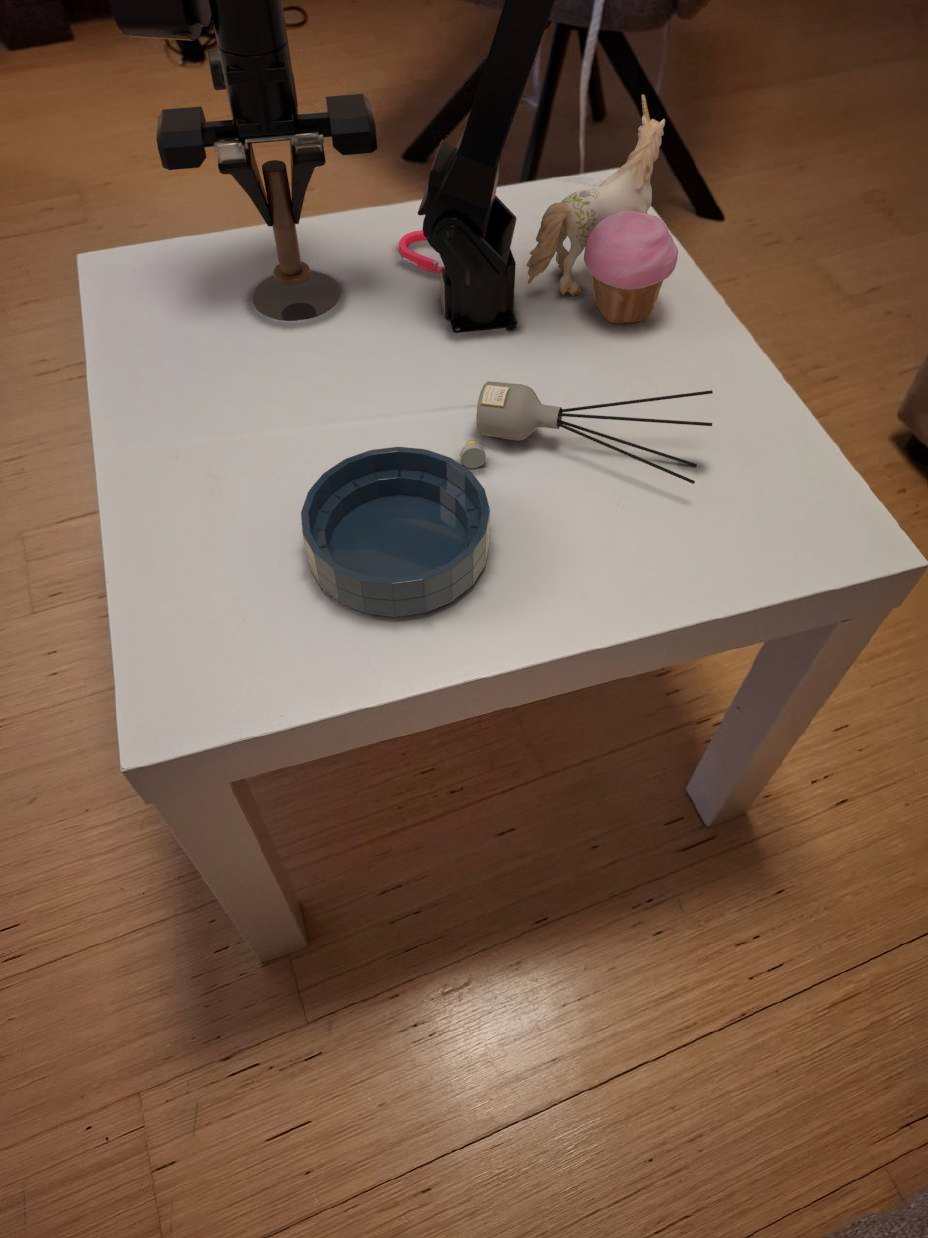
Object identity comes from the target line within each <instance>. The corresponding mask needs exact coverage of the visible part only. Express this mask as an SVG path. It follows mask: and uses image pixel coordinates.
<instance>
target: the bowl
mask: <svg viewBox="0 0 928 1238" xmlns="http://www.w3.org/2000/svg"><path fill="white" fill-rule="evenodd" d="M306 494H307V495H306V497H305V500H304V502H303V505H302V508H301V511H300V519H301V520H300V521H301V531H302V537H303V540H304V542H303V543H304V546H305V551H306V557H307V561H308V565H309V568H310V570H311V572H312V574H313V576H314V578H315V579H316V581H317V583H318V584H319V586H320V588H321V589H323V590H324V591H325V592H326V593H327V594H328V595H330V596H331V597H332V598H333V599H335V600H336V601H337V602H338V603H340V604H341V605H344V606H346V607H349V608H352V609H354V610H356V611H358V612H361V613H364V614H366V615H373V616H384V617H393V618H395V617H396V618H397V617H398V618H399V617H406V616H413V615H420V614H421V615H422V614H426V613H429V612H431V611H434V610H436V609H438V608H441V607H443V606H446V605H448V604H450V603H453V601H455V600H456V599H457V598H459V597H460V596H461V595H462V594H463V593H465V592H466V591H467V590H469V589H470V588H471V587H472V586H473V585H474V584H475V583H476V581H477V580H478V579H479V576H480V575H481V573H482V572H483V570H484V568H485V567H486V564H487V559H488V552H489V546H490V532H491V531H490V525H491V520H490V519H491V509H490V505H489V501H488V496H487V492H486V490H485V488H484V486H483V485H482V483H481V482H480V481H479V480H478V478H477V477H476V476H475V475H474V473H473V471H471V470H469V468H468V467H466V466H464V465H463V464H462V463H459V462H458V461H456V460H455V459H453V458H452V457H450V456H448V455H444V454H441V453H438V452H435V451H432V450H429V449H425V448H419V447H417V448H416V447H407V446H406V447H405V446H392V447H383V448H376V449H369V450H366V451H364V452H361V453H358V454H355V455H352V456H349V457H347V458H344V459H342V460H341V461H339V462H338V463H337V464H335V465H333V466H332V467H330V468H329V469H327V470H326V471H324V472H323V473H322V474H321V475H320V477H319V478H318V479H317V480H316V481H315V483H313V485H312V486H311V487H310V488H309V490H308V492H307V493H306Z"/></svg>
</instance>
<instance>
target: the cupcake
mask: <svg viewBox="0 0 928 1238" xmlns="http://www.w3.org/2000/svg"><path fill="white" fill-rule="evenodd" d="M583 251H584V253H583V261H584V264H585V266H586V268H587V270H588V273H589V274H590V275H591V278H592V279H591V280H592V286H593V287H592V288H593V294H594V303H595V306H596V307H597V308H598V309H599V310H600V313H601V314H602V316H603V317H604V318H605V319H606V321H607V322H609V323H612V324H625V323H627V324H628V323H636V322H637V323H638V322H643V321H647V320H648V319H649V317H650V316H651V314H652V312H653V310H654V308H655V305H656V303H657V300H658V298H659V294H660V292H661V288H662V285H663V282H664V281H665V280H667V279H668V278H669V277H670V276H671V275H672V274H673V272H674V271H675V269H676V267H677V263H678V259H679V249H678V246H677V244H676V242H675V240H674V239H673V236H672V235H671V233H670V232H669V229H668V226H667V224H666V223H664V221H663V220H662V219H661V218H660V217H658V216H656V215H653V214H649V213H648V214H646V213H642V212H638V211H631V210H626V211H621V212H618V213H616V214H613V215H610V216H608V217H606V218H605V219H603V220H602V221H601V222H599V223H598V224H597V225H596V227H595V228H594V229H593V230H592V232H591V233H590V235H589V237H588V239H587V242H586V246H585V248H584V250H583Z"/></svg>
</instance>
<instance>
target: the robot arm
mask: <svg viewBox="0 0 928 1238" xmlns="http://www.w3.org/2000/svg"><path fill="white" fill-rule="evenodd" d="M108 3H109V7H110V11H111V14H112V17H113V20H114V21H115V23H116V26H117V28H118V29H119V30H120V32H121V33H122V34H123V35H124V36H126V37H131V38H145V39H161V40H177V41H178V40H179V41H191V42H192V41H197V40H198V39H199V38H200V36H201V34H202V31H203V27H204V28H207V27H208V26H209V24H210V23H211V21H212V23H213V29H214V35H215V39H216V43H217V48H208V49H206V50H207V57H208V64H209V71H210V75H211V81H212V87H213V90H215V91H226V94H227V99H228V100H227V101H228V105H229V110H230V116H231V119H223V120H212V121H206V117H205V112H204V109H203V107H202V106H189V107H176V108H164V109H162V110H161V111H160V113H159V115H158V117H157V121H156V122H157V124H156V135H155V136H156V137H155V139H156V146H157V151H158V154H159V159H160V163H161V167H162V168H163V169H165V170H168V171H175V170H189V169H199V168H200V167H201V166H202V164H203V163H204V161H205V160H206V159H207V151H206V148H213V149H214V153H216V154H217V168H218V172H219V174H221V175H230V176H232V178H233V179H234V180H235V181H236V182H237V184H238V185H239V186H240V187H241V189H243V191H244V192H245V194H246V195H247V196H248V197H249V199H250V200H251V201H252V203H253V205H254V206H255V208H256V209H257V212H258V213H259V214H260V216H261V218H262V219H263V220H264V222H265V224H266V225H267V227H269V228H271V227H272V220H271V215H270V210H269V205H268V200H267V194H266V189H265V185H264V182H263V179H262V177H261V173H260V170H259V166H258V164H257V159H256V156H255V152H254V147H253V144H262V143H274V142H285V141H287V142H288V141H289V155H290V156H289V157H290V194H291V200H292V210H293V217H294V223H295V225H299V224H300V220H301V215H302V210H303V206H304V201H305V197H306V193H307V190H308V186H309V184H310V181H311V179H312V176H313V174H314V172H315V169H316V168H318V167H324V166H325V165H326V164H327V161H326V154H325V153H326V152H325V147H324V144H325V138H331V141H332V143H331V144H332V148H333V149H335V150H336V151H337V152H338V153H339V154H340V155H342V156H351V155H365V154H373V153H374V152H376V151H378V138H377V127H376V120H375V116H374V111H373V106H372V103H371V100H370V99H369V98H368V97H367V96H366V95H365V94H364V93H353V94H343V95H341V94H340V95H329V96H325V103H326V104H325V105H326V111H324V112H323V111H322V112H318V111H303V112H299V109H298V107H299V103H298V95H297V90H296V82H295V76H294V74H295V73H294V72H293V67H292V61H291V60H292V59H291V53H290V47H289V46H290V45H289V40H288V33H287V31H288V30H287V25H286V18H285V11H284V4H283V0H108ZM555 3H556V0H504V3H503V6H502V10H501V13H500V16H499V18H498V22H497V24H496V28H495V32H494V35H493V39H492V42H491V45H490V48H489V52H488V53H487V58H486V61H485V64H484V67H483V70H482V74H481V76H480V80H479V83H478V86H477V90H476V93H475V97H474V99H473V102H472V105H471V109H470V112H469V116H468V118H467V121H466V124H465V125H466V126H465V128H464V131H463V132H462V135H461V136H460V138H459V139H458V141H457V142H456V144H455V146H454V145H453V144H451V143H449V142H447V141H446V140H445V139H441V141H440V143H439V146H438V149H437V152H436V154H435V157H434V160H433V162H432V166H431V168H430V172H429V176H428V182H427V185H426V188H425V191H424V194H423V197H422V199H421V202H420V204H419V207H418V210H417V215H418V216H419V217H421V216H424V218H423V221H422V230H423V235H424V237H425V238H426V239H427V240H426V241H427V243H428V245H429V246H430V247H431V248H432V249H433V251H435V252H436V253H438V254H439V257H440V259H441V261H442V264H443V267H445V268H442V269H441V273H440V303H441V304H440V305H441V308H442V312H443V317H444V319H445V320H446V321H449V323H450V326H451V330H452V332H453V333H455V334H462V333H471V332H481V331H491V330H501V329H505V330H506V331H510V330H516V329H517V328H518V320H517V317H516V314H515V310H514V308H515V307H514V306H515V289H516V287H515V286H516V265H517V264H516V263H517V262H516V260H515V257H514V254H513V252H512V249H511V246H512V242H513V236H514V233H515V227H516V225H517V219H518V218H517V216H516V215H515V214H514V213H513V212H512V211H511V210H510V208H509V207H507V205H506V204H505V203H504V202H503V201H502V200H501V199H500V198H499V197H498V196H497V188H498V181H499V176H500V170H501V161H502V154H503V151H504V147H505V144H506V142H507V139H508V136H509V133H510V130H511V128H512V125H513V122H514V119H515V116H516V114H517V111H518V108H519V106H520V102H521V99H522V96H523V94H524V91H525V89H526V85H527V82H528V79H529V76H530V74H531V70H532V68H533V66H534V62H535V59H536V57H537V53H538V51H539V48H540V46H541V42H542V39H543V37H544V34H545V31H546V28H547V25H548V22H549V20H550V17H551V14H552V11H553V7H554V6H555ZM211 19H212V20H211Z"/></svg>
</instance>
